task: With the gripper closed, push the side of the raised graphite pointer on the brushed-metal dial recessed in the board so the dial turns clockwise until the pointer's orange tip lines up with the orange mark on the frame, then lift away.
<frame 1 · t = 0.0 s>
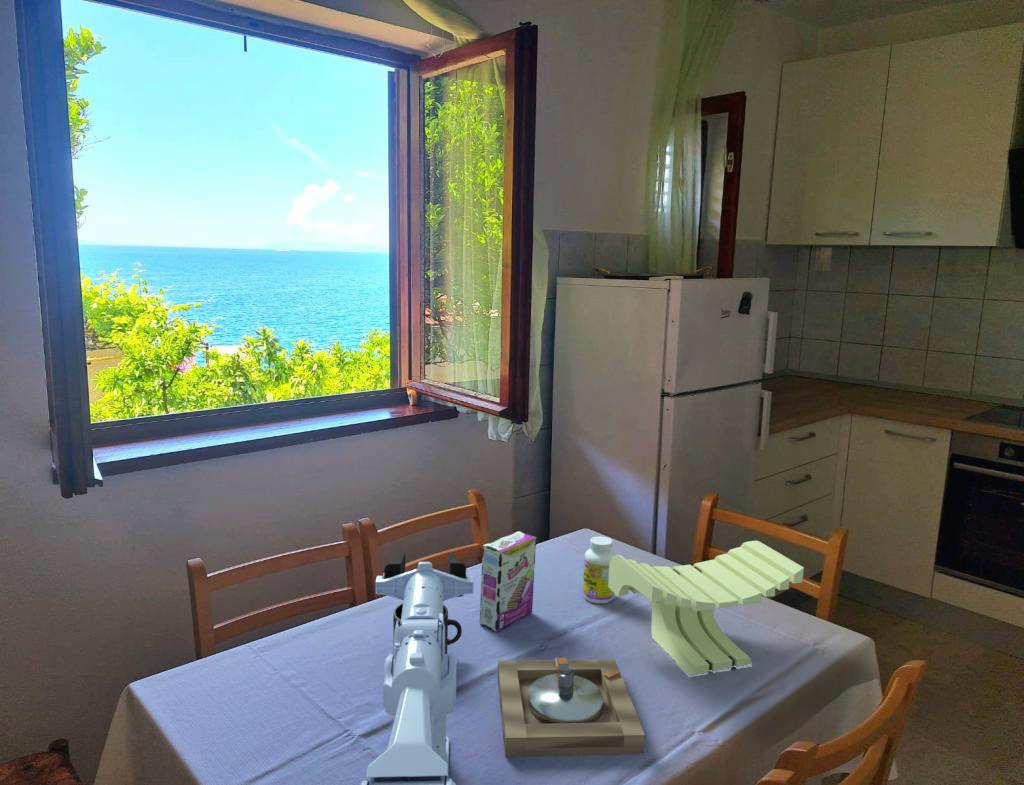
hand: (427, 558, 115), 22 cm above the table, tool horizontal, fingers open, 7 cm apart
supplement bottle: (598, 598, 151), on the table
candy bar box: (507, 620, 140), on the table
board: (564, 712, 111), on the table
dial: (565, 689, 111), point 4 cm above the table, hinge at 0.0°
mug: (427, 659, 125), on the table
slatted curved stool: (697, 649, 131), on the table
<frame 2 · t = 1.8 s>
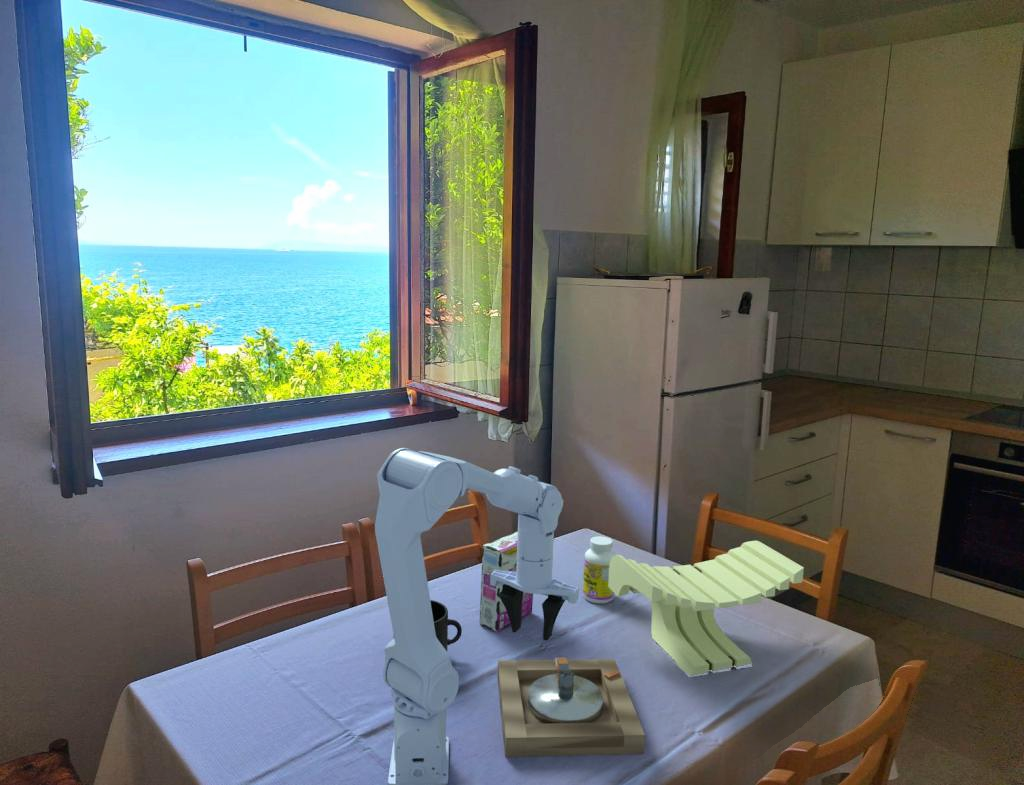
hand: (531, 633, 115), 10 cm above the table, tool pointing down, fingers open, 5 cm apart
nothing on the table moved.
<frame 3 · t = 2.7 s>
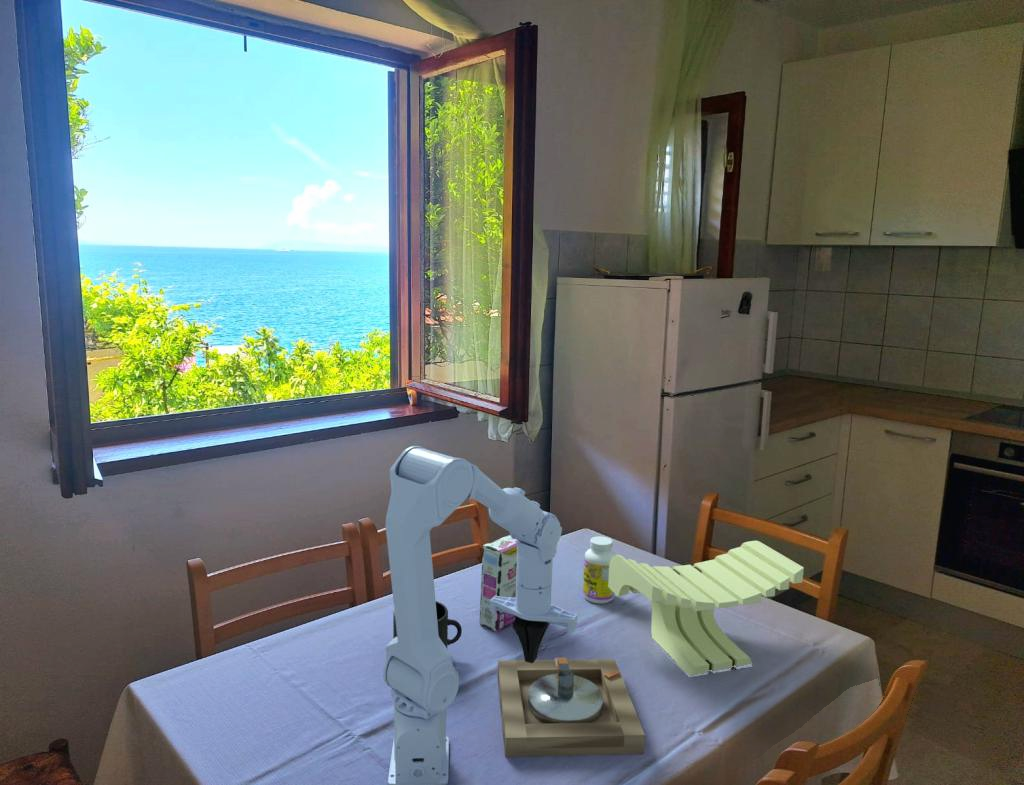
hand: (531, 659, 116), 5 cm above the table, tool pointing down, fingers closed
nothing on the table moved.
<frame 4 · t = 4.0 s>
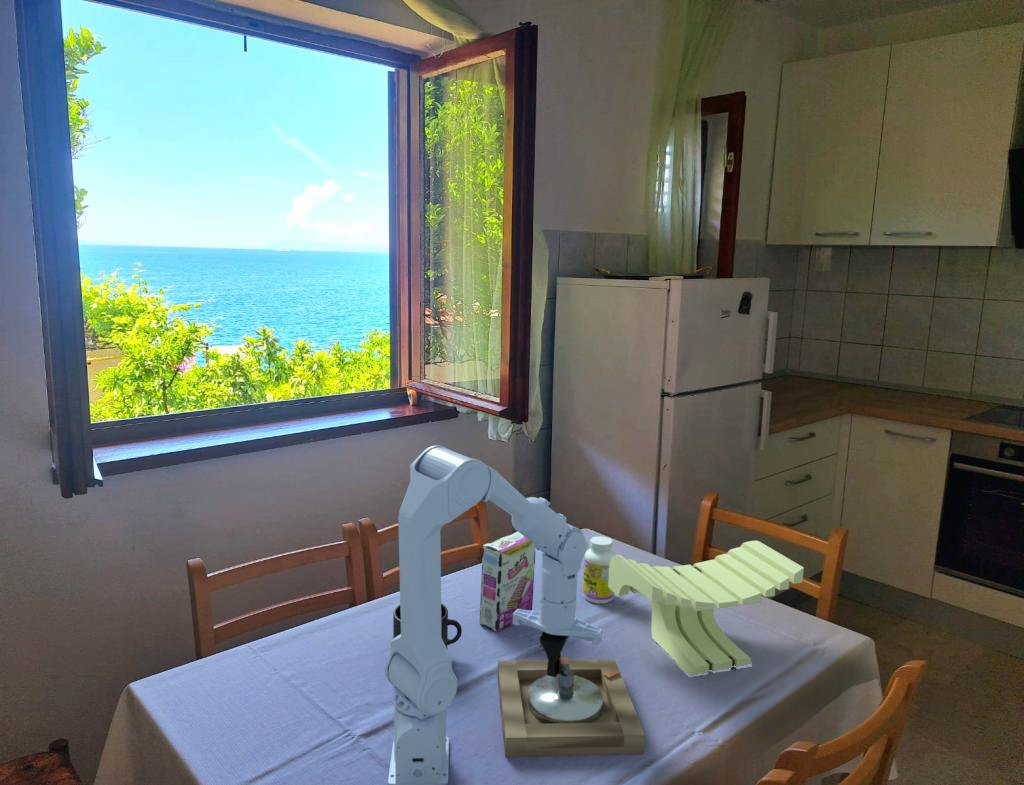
hand: (554, 673, 115), 4 cm above the table, tool pointing down, fingers closed, pressing on dial
dial: (565, 689, 111), point 4 cm above the table, hinge at -2.7°, touching gripper
everything else where it was.
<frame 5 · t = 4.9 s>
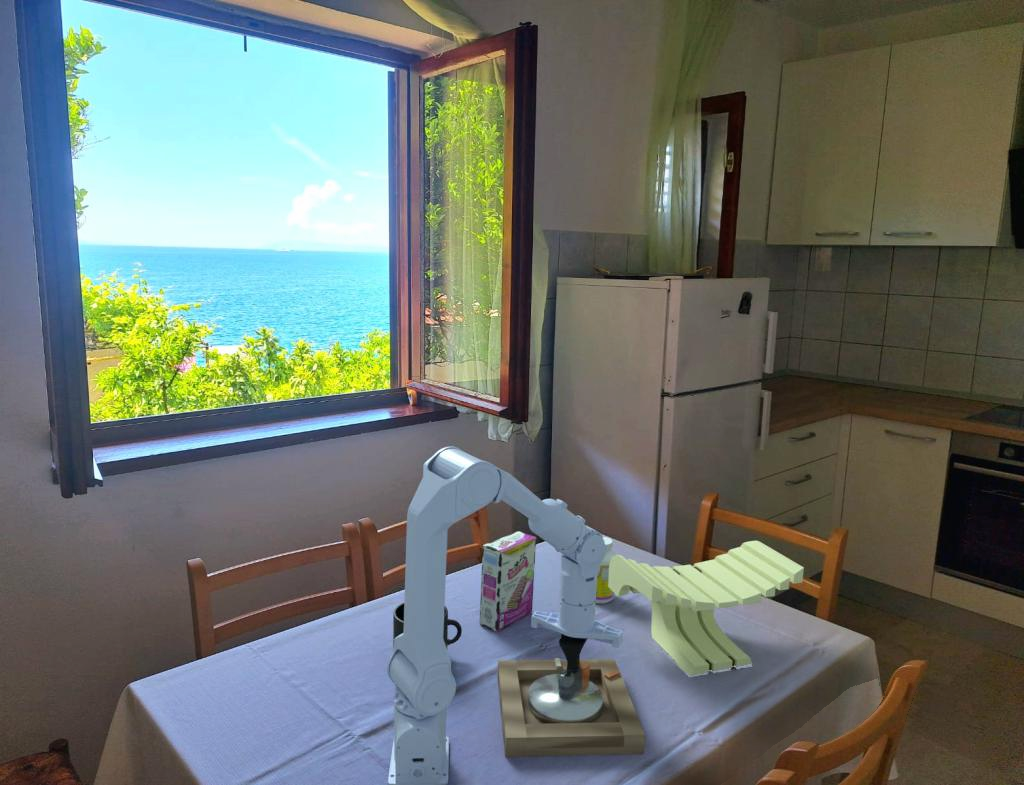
hand: (573, 675, 114), 4 cm above the table, tool pointing down, fingers closed, pressing on dial
dial: (565, 689, 111), point 4 cm above the table, hinge at -49.2°, touching gripper
everything else where it was.
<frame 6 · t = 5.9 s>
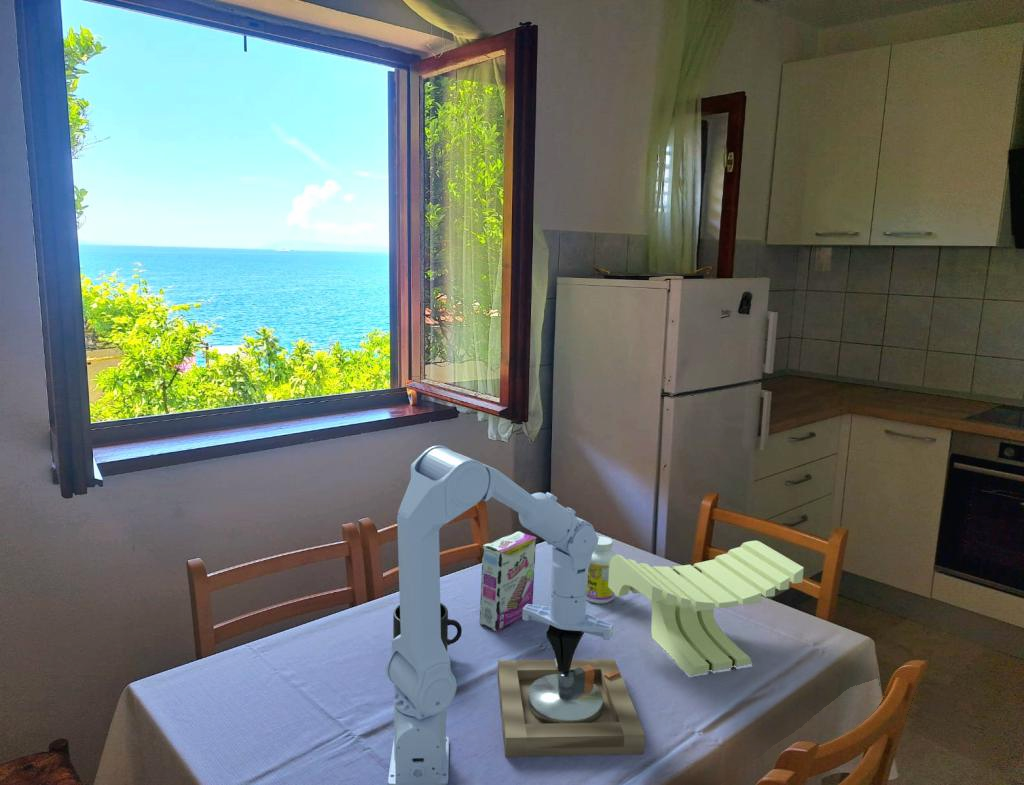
hand: (564, 669, 114), 5 cm above the table, tool pointing down, fingers closed
dial: (565, 689, 111), point 4 cm above the table, hinge at -63.5°
everything else where it was.
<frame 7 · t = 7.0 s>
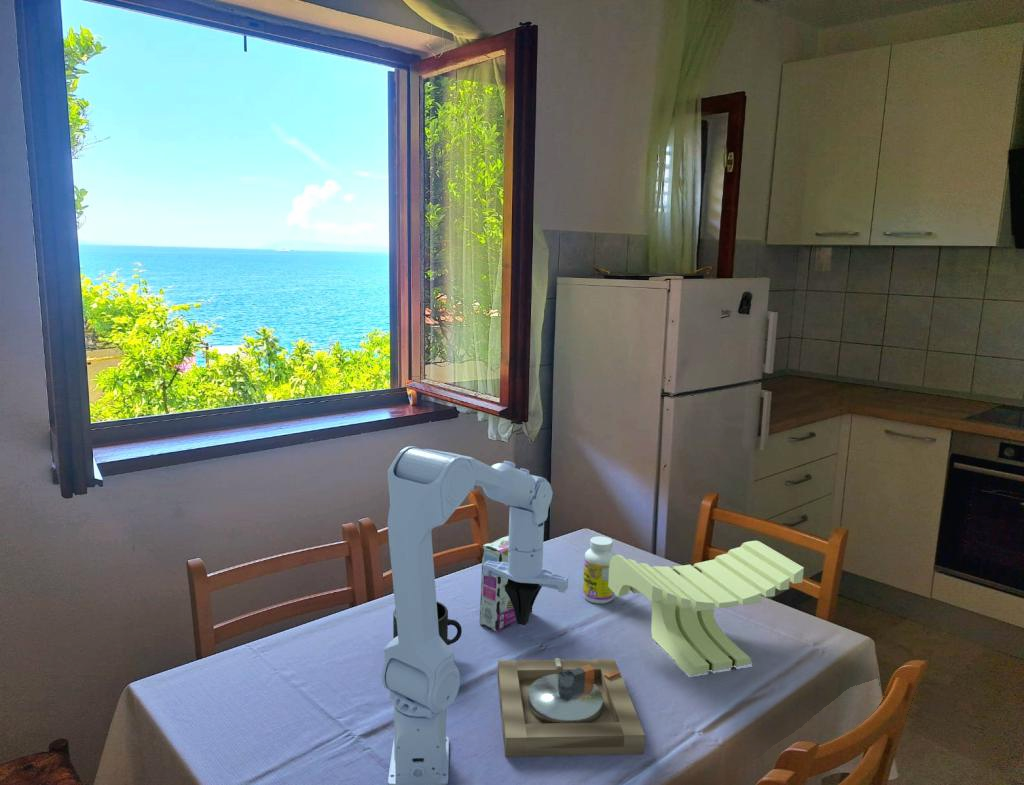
hand: (522, 622, 119), 10 cm above the table, tool pointing down, fingers closed
nothing on the table moved.
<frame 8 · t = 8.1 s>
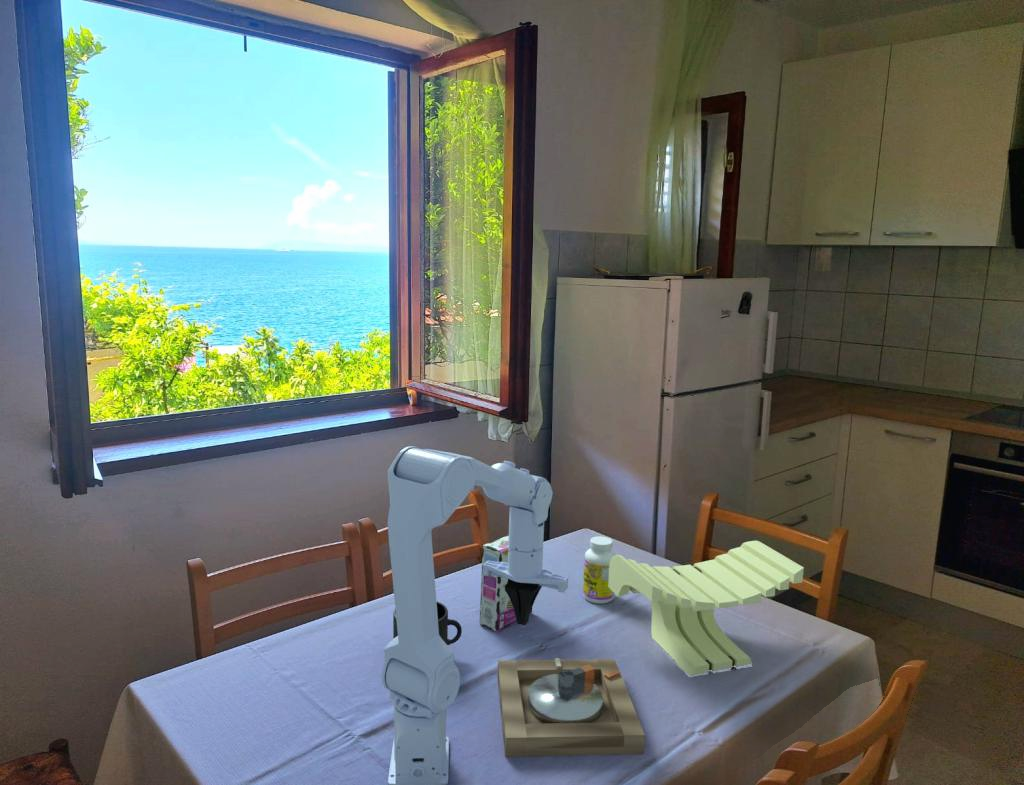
hand: (522, 622, 119), 10 cm above the table, tool pointing down, fingers closed
nothing on the table moved.
at the end: dial at -64° (first picture: +0°) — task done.
